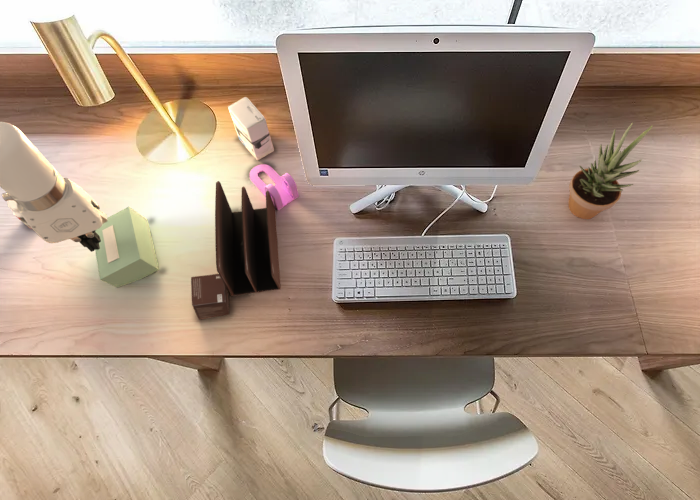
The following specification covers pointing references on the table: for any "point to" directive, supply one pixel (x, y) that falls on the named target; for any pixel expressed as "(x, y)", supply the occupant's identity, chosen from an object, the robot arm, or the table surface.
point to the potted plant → (601, 180)
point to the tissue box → (125, 249)
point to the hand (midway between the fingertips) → (94, 244)
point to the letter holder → (246, 245)
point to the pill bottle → (16, 211)
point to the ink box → (251, 128)
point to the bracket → (283, 186)
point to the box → (209, 296)
